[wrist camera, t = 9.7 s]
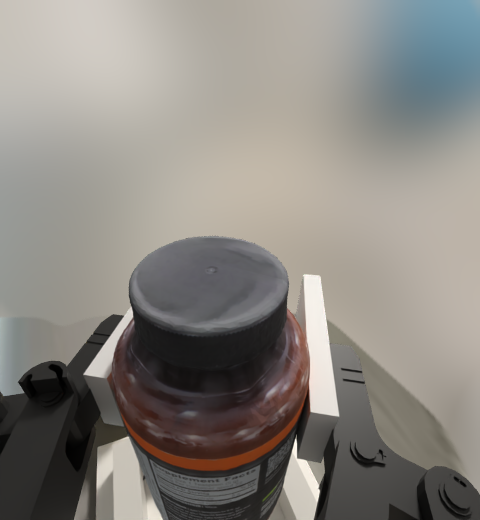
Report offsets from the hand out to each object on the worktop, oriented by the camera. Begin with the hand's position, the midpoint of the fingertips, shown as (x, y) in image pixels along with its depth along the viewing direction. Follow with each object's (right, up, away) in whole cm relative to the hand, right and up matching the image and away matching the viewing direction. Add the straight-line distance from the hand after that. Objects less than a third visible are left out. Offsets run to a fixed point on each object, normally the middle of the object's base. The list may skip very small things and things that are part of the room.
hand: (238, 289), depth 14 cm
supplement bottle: (-1, -8, -1) cm, 8 cm away
